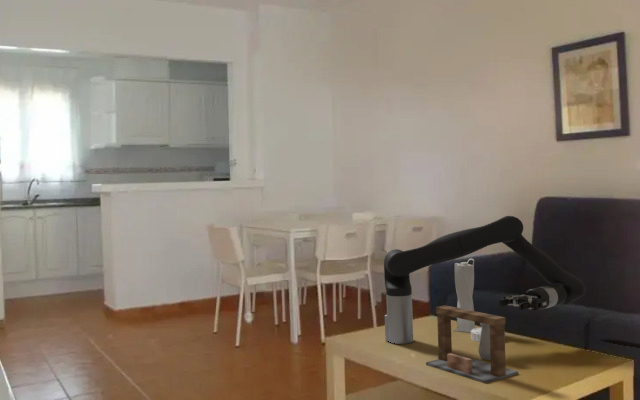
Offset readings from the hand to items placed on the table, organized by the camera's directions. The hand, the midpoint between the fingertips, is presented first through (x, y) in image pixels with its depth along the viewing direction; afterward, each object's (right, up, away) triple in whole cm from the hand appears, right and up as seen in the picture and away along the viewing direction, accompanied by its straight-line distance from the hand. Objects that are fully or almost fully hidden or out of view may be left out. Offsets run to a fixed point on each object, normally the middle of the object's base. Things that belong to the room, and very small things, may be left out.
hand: (509, 305), depth 225 cm
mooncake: (-2, -16, +20) cm, 25 cm away
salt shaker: (-9, -17, -6) cm, 20 cm away
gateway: (-17, -17, -17) cm, 29 cm away
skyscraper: (-7, -15, +33) cm, 37 cm away
